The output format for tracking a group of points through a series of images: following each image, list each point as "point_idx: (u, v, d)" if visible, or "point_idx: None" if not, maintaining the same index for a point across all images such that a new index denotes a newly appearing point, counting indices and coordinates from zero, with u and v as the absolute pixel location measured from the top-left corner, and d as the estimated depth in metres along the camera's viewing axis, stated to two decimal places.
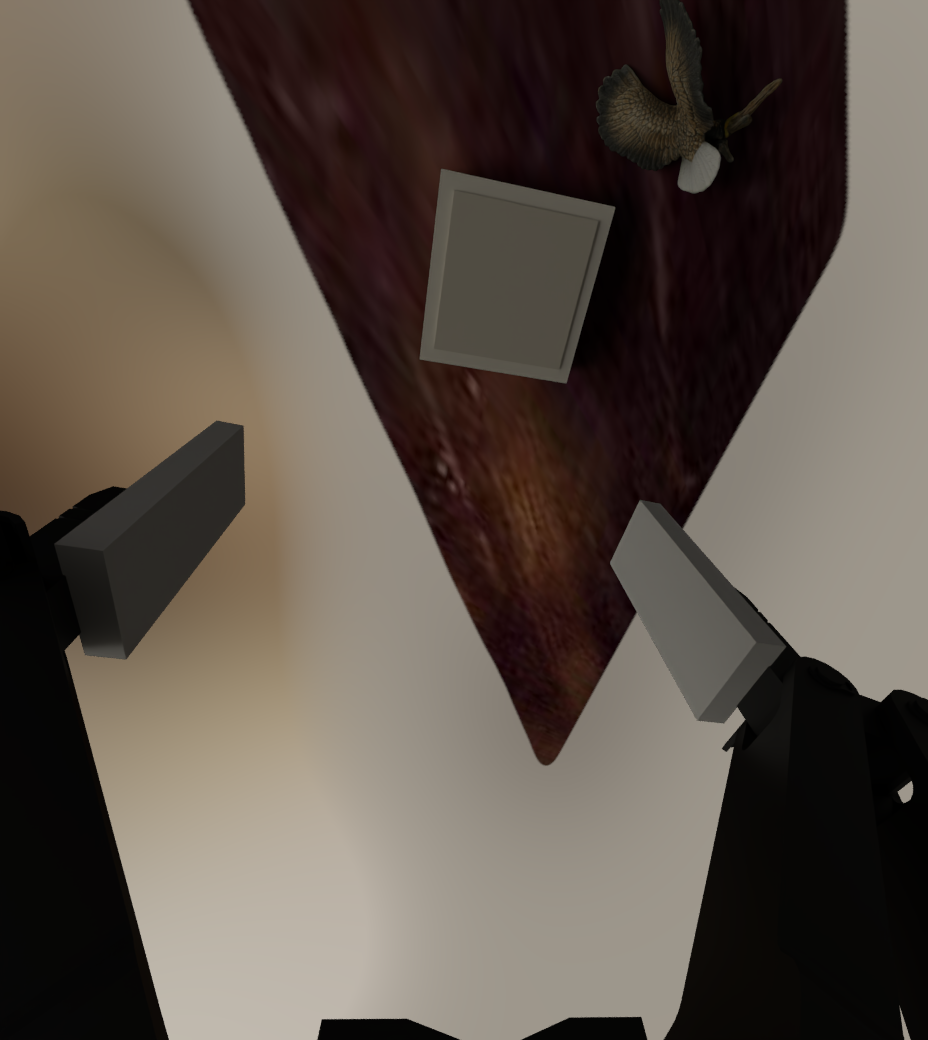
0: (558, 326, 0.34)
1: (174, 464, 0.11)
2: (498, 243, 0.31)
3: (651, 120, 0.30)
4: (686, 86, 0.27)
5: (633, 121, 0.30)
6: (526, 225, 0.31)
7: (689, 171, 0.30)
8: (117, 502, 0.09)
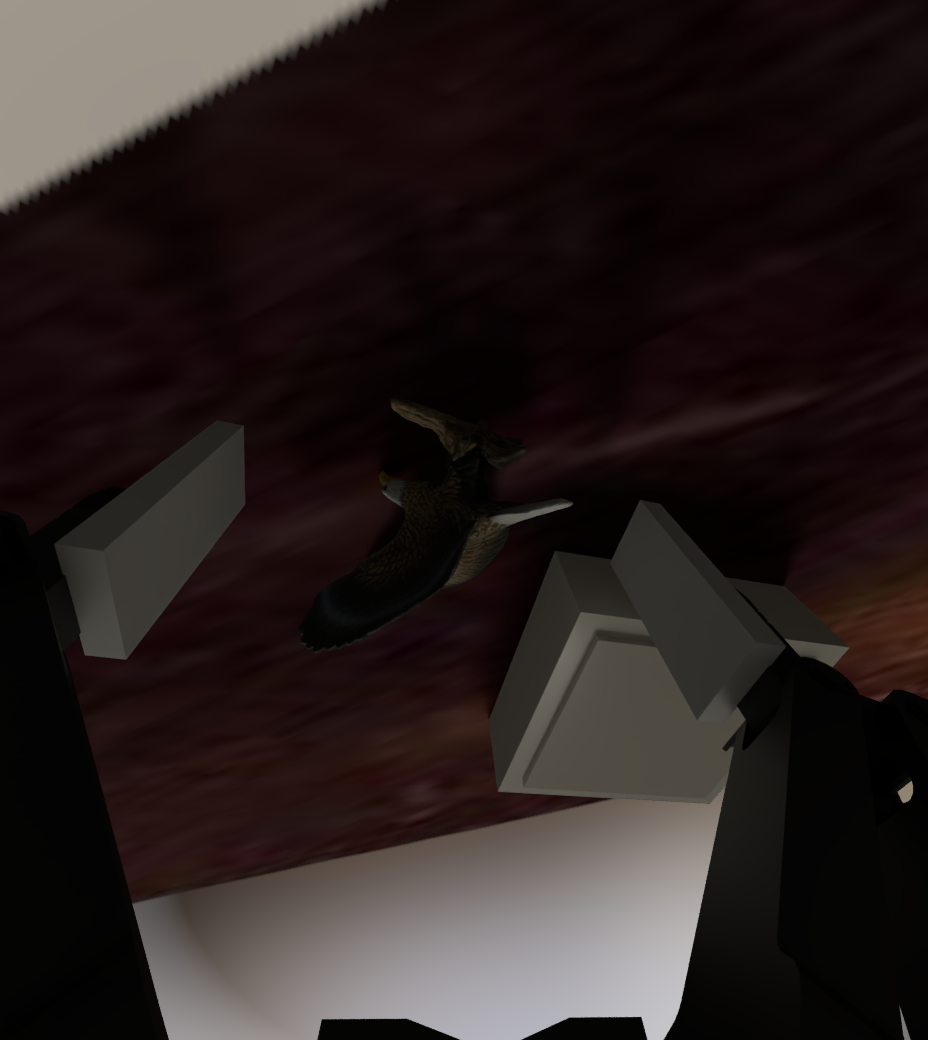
0: None
1: (174, 464, 0.11)
2: (595, 748, 0.21)
3: None
4: None
5: None
6: (580, 722, 0.20)
7: None
8: (117, 502, 0.09)
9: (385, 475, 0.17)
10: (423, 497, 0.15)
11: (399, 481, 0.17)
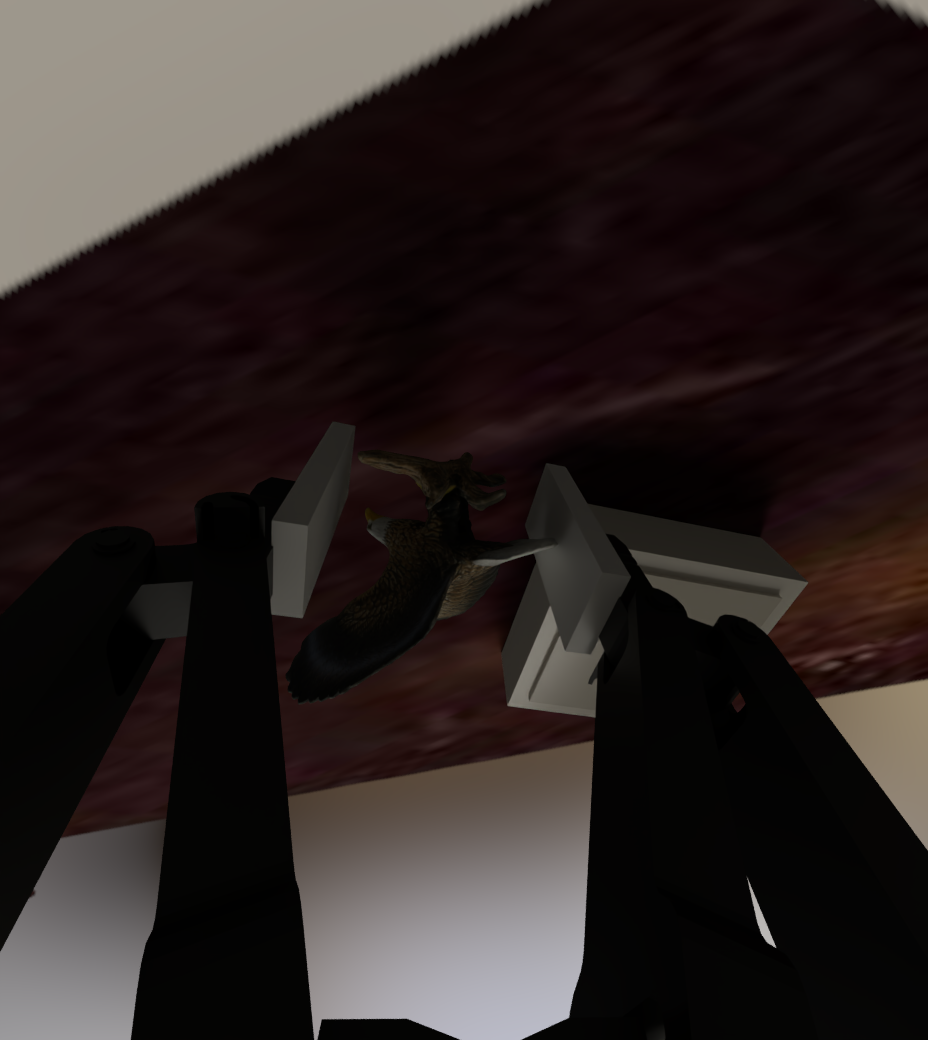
0: (717, 602, 0.22)
1: (321, 459, 0.13)
2: (590, 666, 0.24)
3: None
4: None
5: None
6: None
7: None
8: (297, 489, 0.11)
9: (371, 512, 0.17)
10: (405, 538, 0.15)
11: (383, 520, 0.16)
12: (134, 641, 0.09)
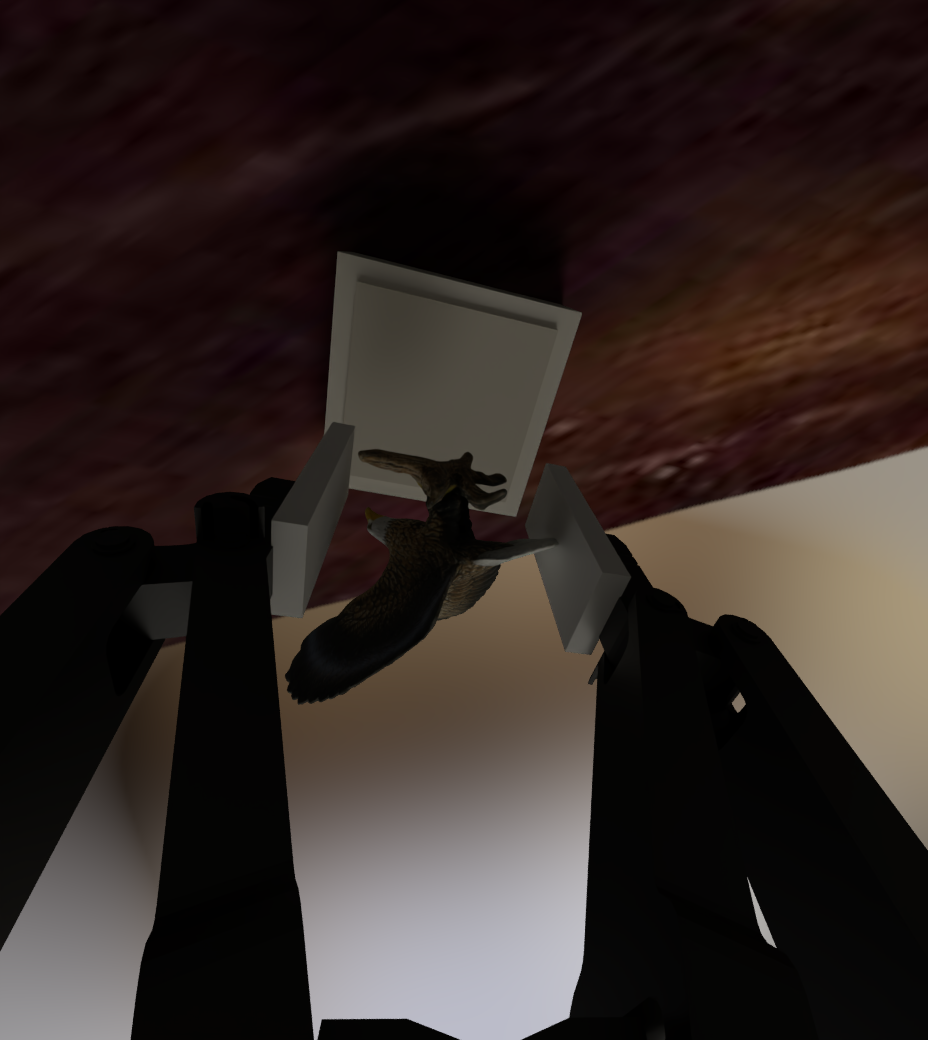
0: (494, 335, 0.22)
1: (320, 458, 0.13)
2: (389, 424, 0.24)
3: None
4: None
5: None
6: (367, 388, 0.23)
7: None
8: (296, 489, 0.11)
9: (371, 512, 0.17)
10: (405, 538, 0.15)
11: (384, 519, 0.16)
12: (134, 641, 0.09)
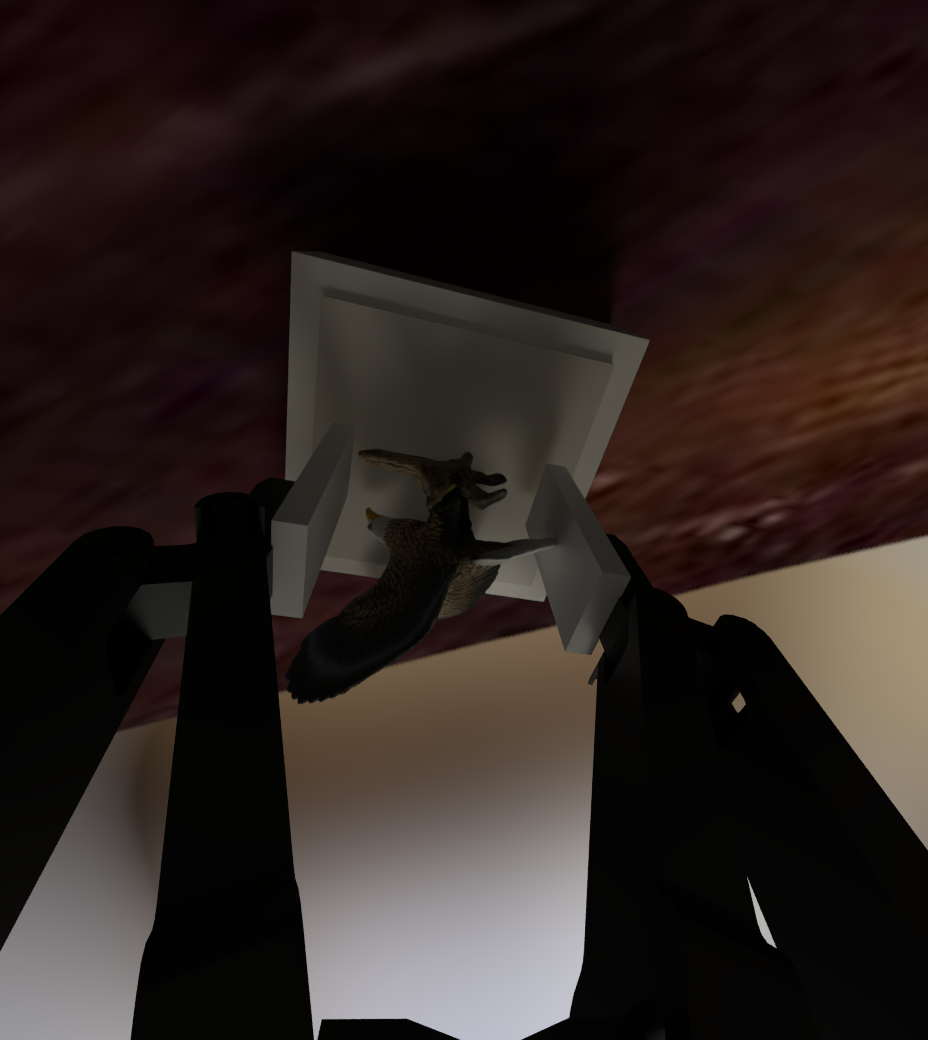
0: (523, 372, 0.16)
1: (320, 458, 0.13)
2: (373, 491, 0.18)
3: None
4: None
5: None
6: None
7: None
8: (297, 489, 0.11)
9: (371, 512, 0.17)
10: (405, 538, 0.15)
11: (384, 519, 0.16)
12: (133, 641, 0.09)
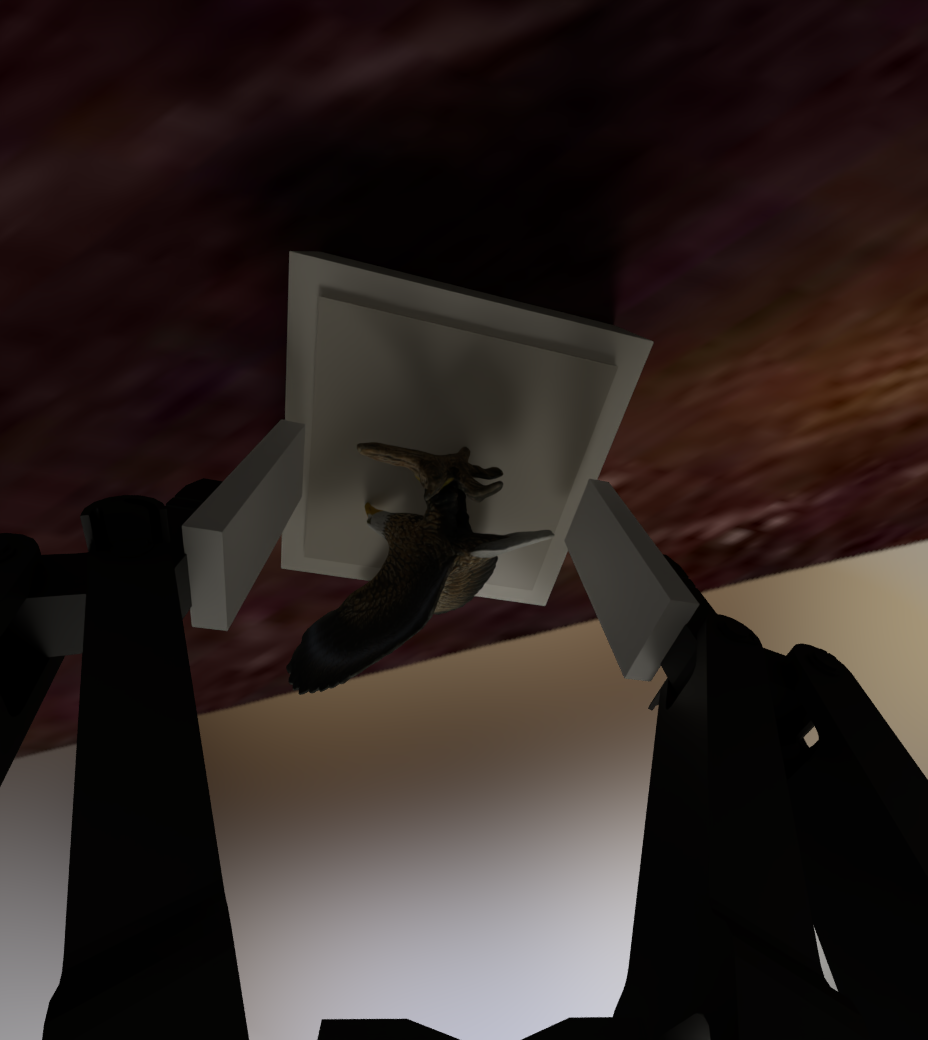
0: (525, 373, 0.15)
1: (257, 458, 0.12)
2: (373, 494, 0.17)
3: None
4: None
5: None
6: (340, 447, 0.16)
7: None
8: (221, 491, 0.10)
9: (370, 507, 0.17)
10: (404, 531, 0.15)
11: (383, 514, 0.17)
12: (20, 660, 0.08)
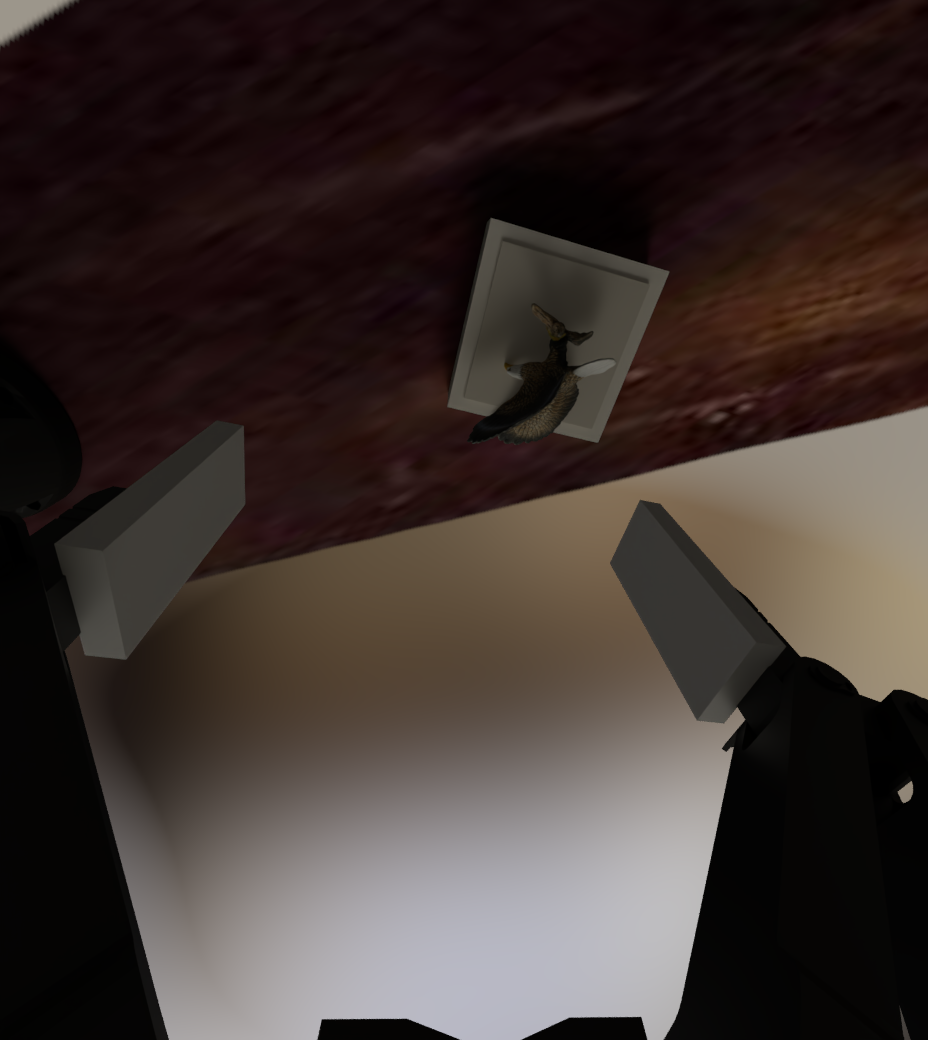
0: (600, 287, 0.29)
1: (174, 464, 0.11)
2: (509, 357, 0.31)
3: (542, 412, 0.31)
4: None
5: (539, 425, 0.32)
6: (497, 327, 0.30)
7: (592, 373, 0.29)
8: (117, 502, 0.09)
9: (508, 364, 0.31)
10: (535, 366, 0.29)
11: None
12: None
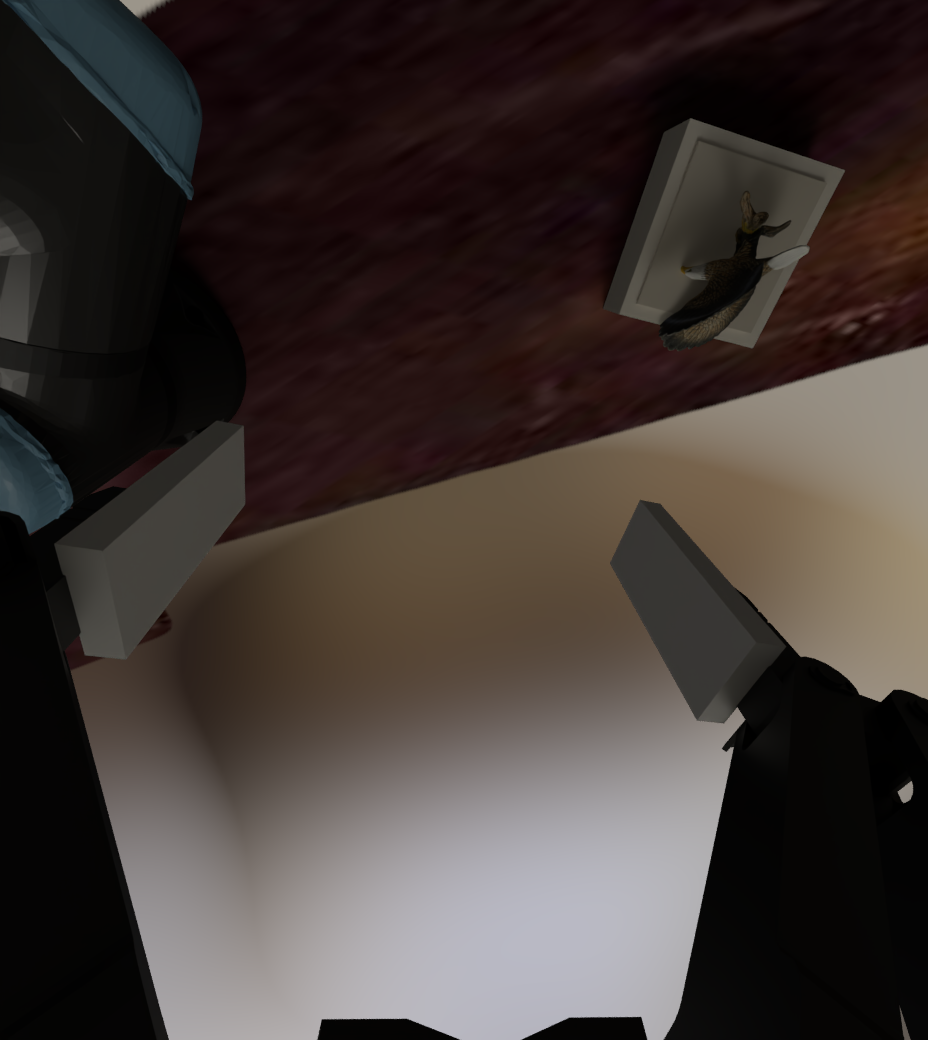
0: (781, 186, 0.31)
1: (173, 464, 0.11)
2: (686, 260, 0.33)
3: (720, 310, 0.33)
4: None
5: (713, 325, 0.34)
6: (680, 229, 0.32)
7: None
8: (117, 502, 0.09)
9: (685, 267, 0.33)
10: (724, 262, 0.31)
11: (699, 265, 0.33)
12: None
